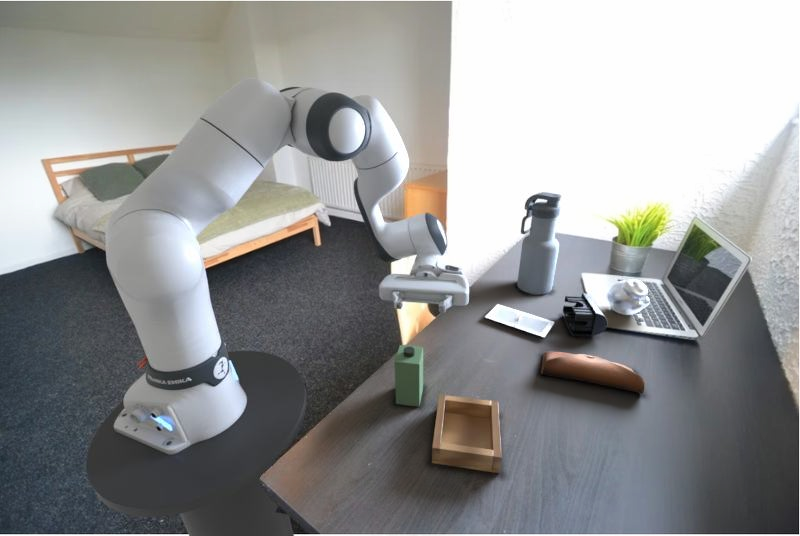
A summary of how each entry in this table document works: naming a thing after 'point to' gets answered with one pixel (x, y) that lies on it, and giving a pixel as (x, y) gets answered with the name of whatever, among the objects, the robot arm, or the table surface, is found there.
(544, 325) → the white shallow tray
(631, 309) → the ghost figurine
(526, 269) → the water bottle
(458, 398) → the wooden tray
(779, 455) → the table surface
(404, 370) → the green carton with cap
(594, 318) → the end cap
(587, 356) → the sunglasses case
